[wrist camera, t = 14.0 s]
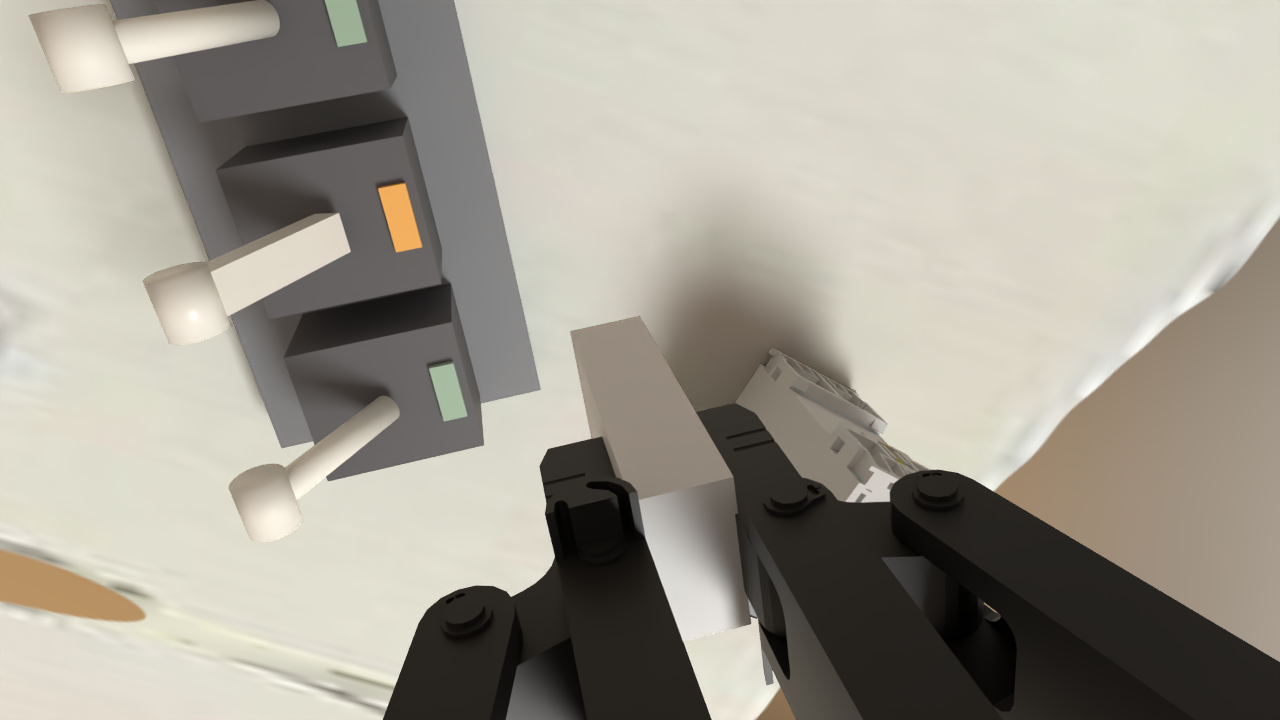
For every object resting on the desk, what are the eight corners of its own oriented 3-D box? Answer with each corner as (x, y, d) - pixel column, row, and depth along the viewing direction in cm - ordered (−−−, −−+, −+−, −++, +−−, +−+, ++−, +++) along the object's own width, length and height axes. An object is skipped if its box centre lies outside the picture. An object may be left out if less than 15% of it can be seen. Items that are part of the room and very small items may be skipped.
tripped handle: (344, 205, 37) (171, 284, 30) (359, 258, 38) (196, 346, 31) (305, 207, 38) (129, 284, 31) (322, 258, 39) (155, 344, 32)
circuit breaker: (658, 516, 59) (719, 671, 46) (771, 347, 56) (874, 461, 42) (743, 552, 62) (824, 708, 49) (856, 393, 59) (978, 514, 45)
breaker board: (431, -101, 42) (421, -150, 27) (536, 369, 53) (572, 525, 38) (113, -52, 40) (-94, -76, 25) (290, 423, 51) (222, 611, 36)
